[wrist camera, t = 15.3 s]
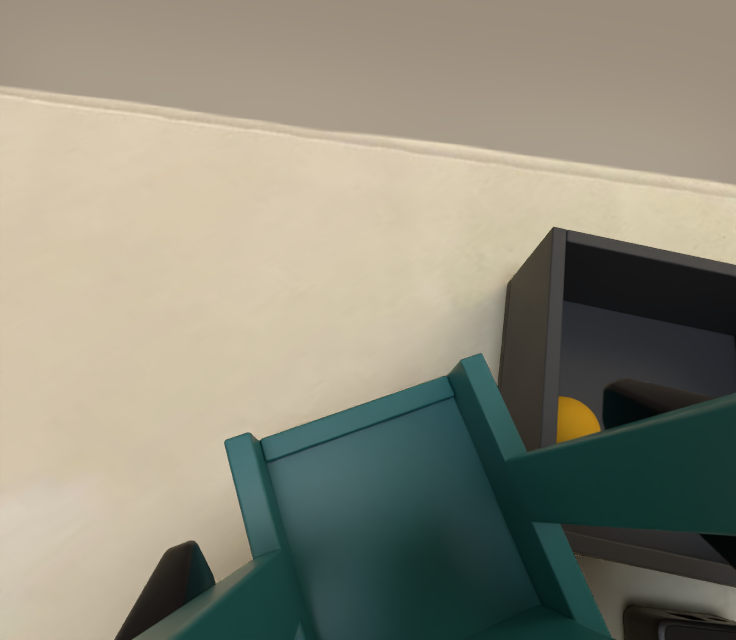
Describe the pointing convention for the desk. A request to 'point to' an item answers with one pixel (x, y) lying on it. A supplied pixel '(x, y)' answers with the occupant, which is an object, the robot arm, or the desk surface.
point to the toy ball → (574, 420)
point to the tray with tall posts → (449, 518)
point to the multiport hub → (675, 625)
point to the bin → (617, 359)
